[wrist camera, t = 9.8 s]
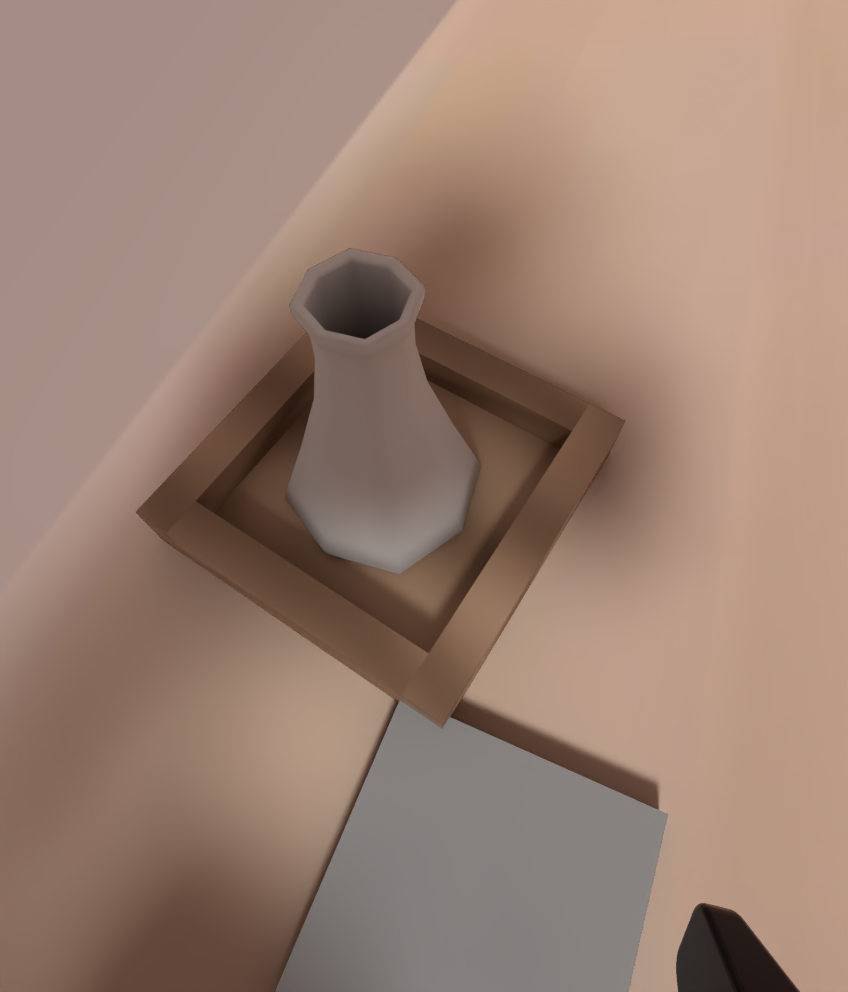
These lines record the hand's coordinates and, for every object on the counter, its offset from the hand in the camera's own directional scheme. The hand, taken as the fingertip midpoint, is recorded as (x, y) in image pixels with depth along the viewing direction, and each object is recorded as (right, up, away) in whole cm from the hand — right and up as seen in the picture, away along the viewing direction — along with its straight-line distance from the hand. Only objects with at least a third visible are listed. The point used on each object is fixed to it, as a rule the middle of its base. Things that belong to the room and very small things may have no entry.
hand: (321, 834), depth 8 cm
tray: (0, +4, +17) cm, 18 cm away
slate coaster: (+3, -8, +11) cm, 14 cm away
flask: (0, +5, +17) cm, 17 cm away
